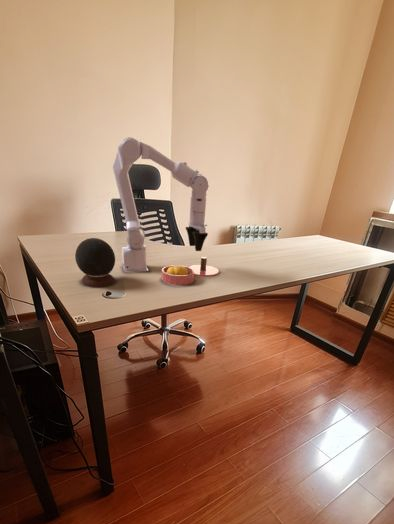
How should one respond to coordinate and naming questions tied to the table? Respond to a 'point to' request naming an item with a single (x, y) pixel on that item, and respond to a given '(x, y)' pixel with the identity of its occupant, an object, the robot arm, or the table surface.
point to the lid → (204, 268)
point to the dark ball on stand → (95, 262)
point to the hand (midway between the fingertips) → (195, 248)
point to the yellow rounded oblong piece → (177, 270)
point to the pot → (177, 277)
